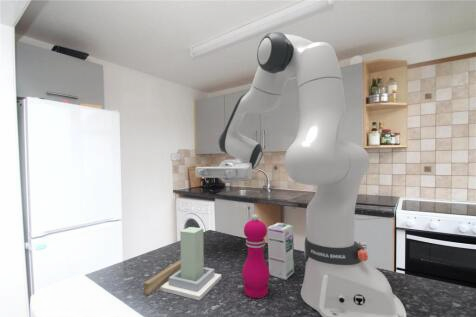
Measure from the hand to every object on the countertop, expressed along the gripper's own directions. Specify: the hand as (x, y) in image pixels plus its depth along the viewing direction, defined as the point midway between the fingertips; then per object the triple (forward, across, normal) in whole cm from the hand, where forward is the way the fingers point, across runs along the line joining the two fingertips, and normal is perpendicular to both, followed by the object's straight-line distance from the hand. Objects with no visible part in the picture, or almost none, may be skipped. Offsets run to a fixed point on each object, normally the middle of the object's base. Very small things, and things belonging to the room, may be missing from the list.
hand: (212, 173), depth 78 cm
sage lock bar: (+12, 0, +29) cm, 31 cm away
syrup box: (-3, +22, +30) cm, 37 cm away
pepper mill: (+9, +18, +30) cm, 36 cm away
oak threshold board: (+14, -8, +30) cm, 34 cm away
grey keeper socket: (+12, 0, +30) cm, 32 cm away
